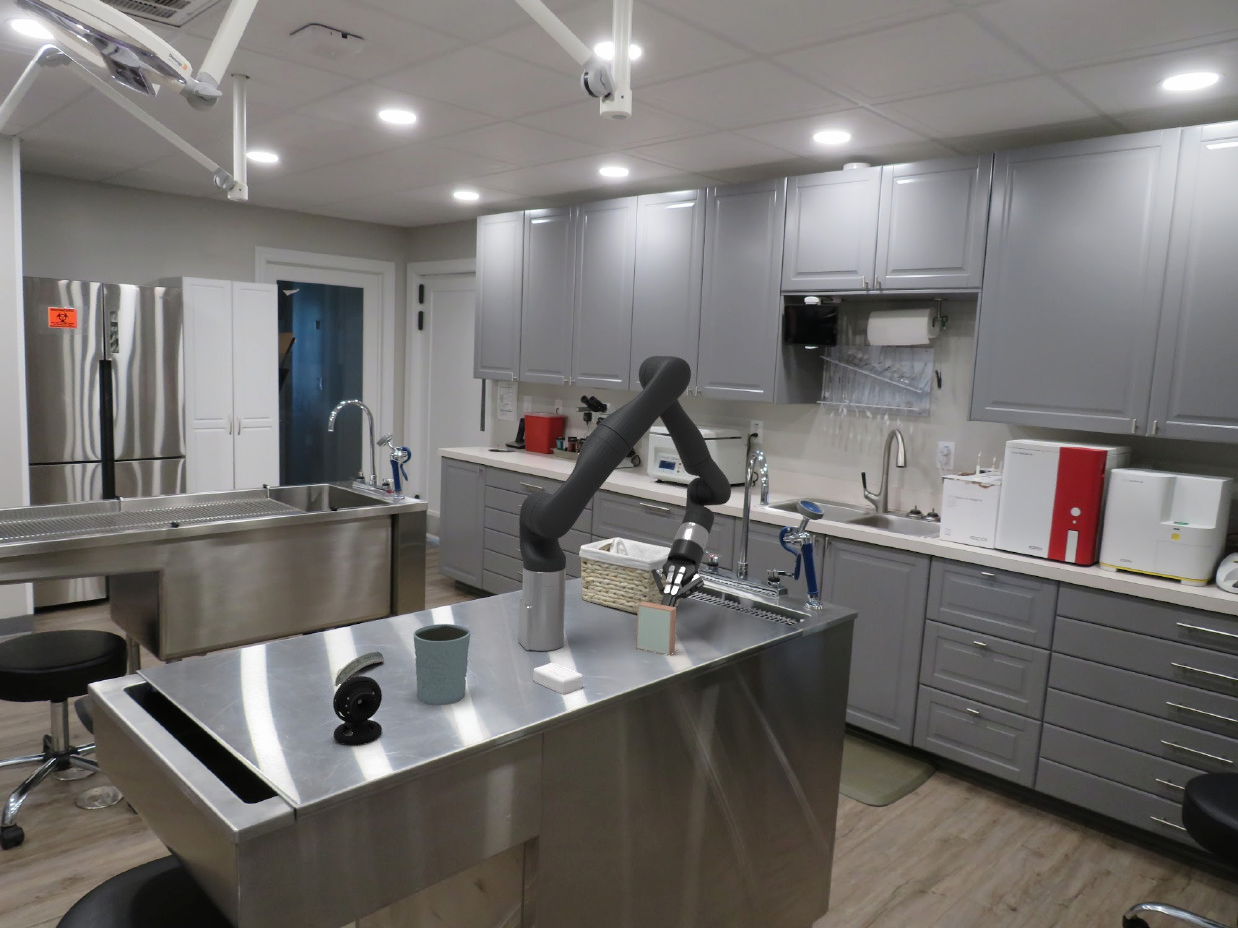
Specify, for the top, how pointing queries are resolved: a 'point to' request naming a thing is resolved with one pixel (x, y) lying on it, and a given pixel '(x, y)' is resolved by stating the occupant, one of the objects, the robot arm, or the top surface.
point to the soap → (558, 678)
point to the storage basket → (622, 573)
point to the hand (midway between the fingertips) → (665, 611)
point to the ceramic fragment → (358, 665)
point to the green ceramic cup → (441, 663)
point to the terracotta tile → (656, 628)
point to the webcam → (357, 710)
